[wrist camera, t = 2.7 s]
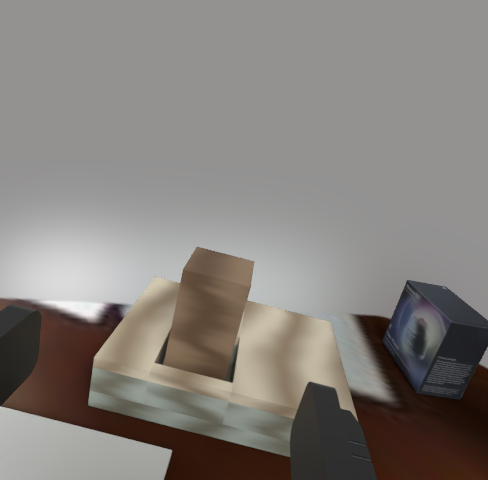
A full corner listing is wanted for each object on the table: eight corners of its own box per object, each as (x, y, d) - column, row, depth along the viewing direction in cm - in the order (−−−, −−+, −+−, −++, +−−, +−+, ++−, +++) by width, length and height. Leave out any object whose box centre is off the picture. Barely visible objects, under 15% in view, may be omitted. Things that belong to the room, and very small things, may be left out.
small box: (377, 340, 54) (404, 277, 50) (417, 347, 55) (446, 285, 51) (414, 393, 44) (450, 319, 41) (462, 401, 45) (502, 328, 42)
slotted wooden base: (317, 355, 46) (330, 321, 45) (339, 469, 31) (359, 424, 30) (148, 311, 46) (155, 276, 45) (87, 405, 31) (94, 357, 30)
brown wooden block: (225, 367, 38) (254, 261, 34) (217, 406, 32) (250, 286, 29) (173, 354, 38) (197, 246, 34) (157, 391, 32) (183, 269, 29)
